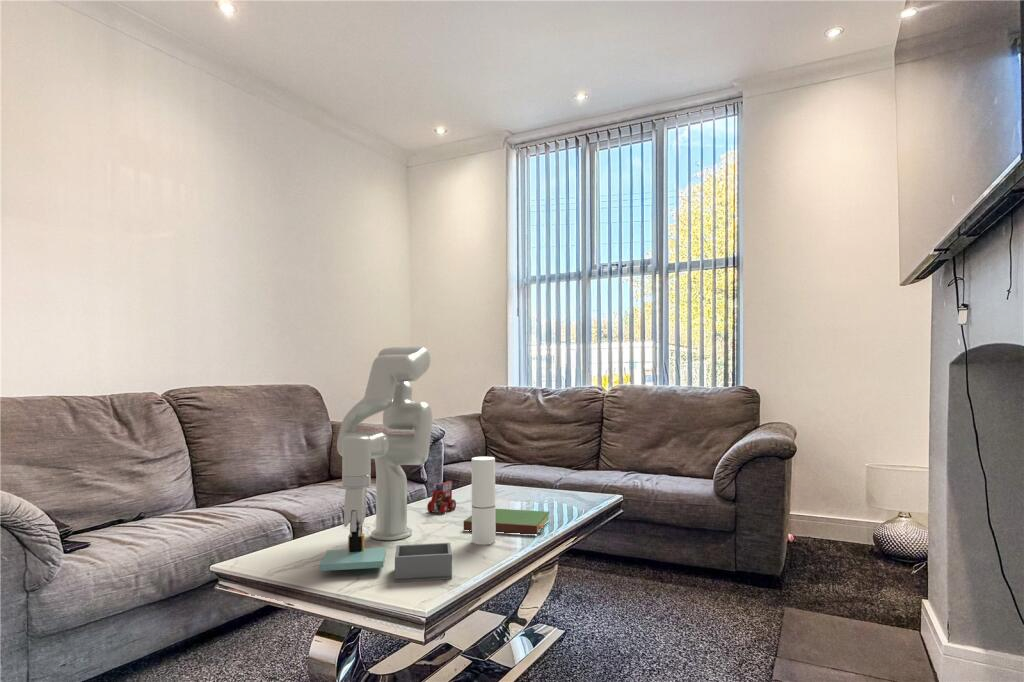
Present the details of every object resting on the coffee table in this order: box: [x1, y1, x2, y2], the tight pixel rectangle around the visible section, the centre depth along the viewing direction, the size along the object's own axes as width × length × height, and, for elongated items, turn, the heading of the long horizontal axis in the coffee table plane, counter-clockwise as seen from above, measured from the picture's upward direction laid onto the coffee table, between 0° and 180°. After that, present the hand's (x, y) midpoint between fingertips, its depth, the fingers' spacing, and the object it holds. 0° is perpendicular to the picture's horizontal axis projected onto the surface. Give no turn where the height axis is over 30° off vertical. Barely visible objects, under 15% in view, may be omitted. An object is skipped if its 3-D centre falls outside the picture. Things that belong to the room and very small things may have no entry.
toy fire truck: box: [426, 480, 457, 514], centre depth 216 cm, size 7×12×10 cm, turn 153°
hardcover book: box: [463, 508, 550, 534], centre depth 194 cm, size 25×19×4 cm
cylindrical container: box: [471, 456, 497, 545], centre depth 178 cm, size 7×7×25 cm
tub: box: [394, 542, 453, 583], centre depth 150 cm, size 10×14×6 cm
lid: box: [318, 533, 387, 572], centre depth 153 cm, size 12×16×6 cm
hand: (356, 549), depth 158 cm, fingers closed on lid
